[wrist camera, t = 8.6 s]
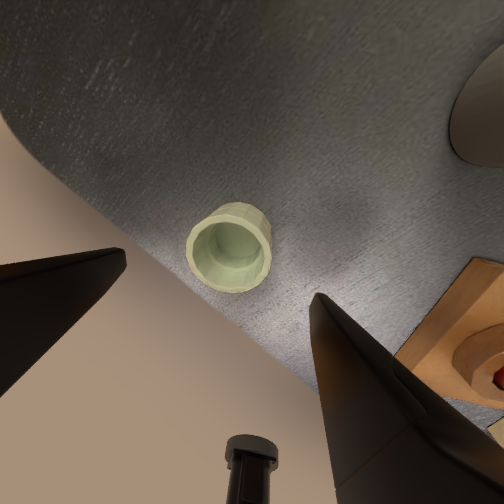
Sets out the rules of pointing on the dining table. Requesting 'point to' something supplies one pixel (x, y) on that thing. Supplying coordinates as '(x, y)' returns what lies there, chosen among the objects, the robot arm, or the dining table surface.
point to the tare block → (463, 338)
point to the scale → (498, 431)
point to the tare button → (500, 376)
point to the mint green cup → (231, 248)
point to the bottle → (481, 114)
